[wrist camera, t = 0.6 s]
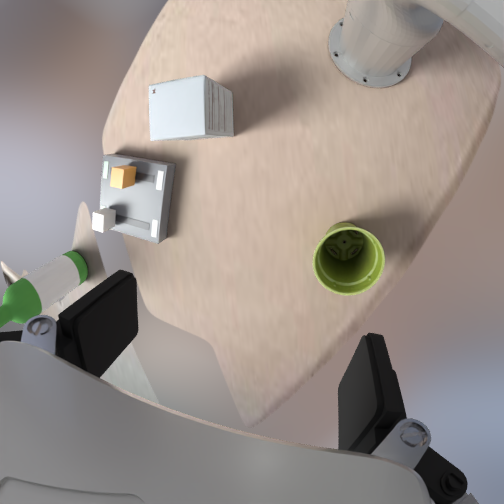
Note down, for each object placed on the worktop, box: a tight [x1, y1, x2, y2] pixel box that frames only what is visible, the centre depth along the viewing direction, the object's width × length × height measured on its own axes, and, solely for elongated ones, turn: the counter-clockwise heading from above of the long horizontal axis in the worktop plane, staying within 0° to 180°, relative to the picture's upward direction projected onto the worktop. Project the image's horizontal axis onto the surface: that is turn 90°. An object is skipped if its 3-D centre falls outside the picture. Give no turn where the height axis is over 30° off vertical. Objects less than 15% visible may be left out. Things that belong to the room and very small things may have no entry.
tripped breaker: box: [110, 165, 136, 189], centre depth 41 cm, size 3×2×4 cm
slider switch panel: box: [100, 154, 176, 244], centre depth 46 cm, size 13×13×3 cm
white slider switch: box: [93, 208, 116, 232], centre depth 45 cm, size 3×2×4 cm
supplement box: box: [149, 75, 234, 141], centre depth 35 cm, size 7×7×13 cm
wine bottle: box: [0, 251, 88, 328], centre depth 43 cm, size 8×8×30 cm
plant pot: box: [313, 222, 385, 295], centre depth 39 cm, size 9×9×9 cm
